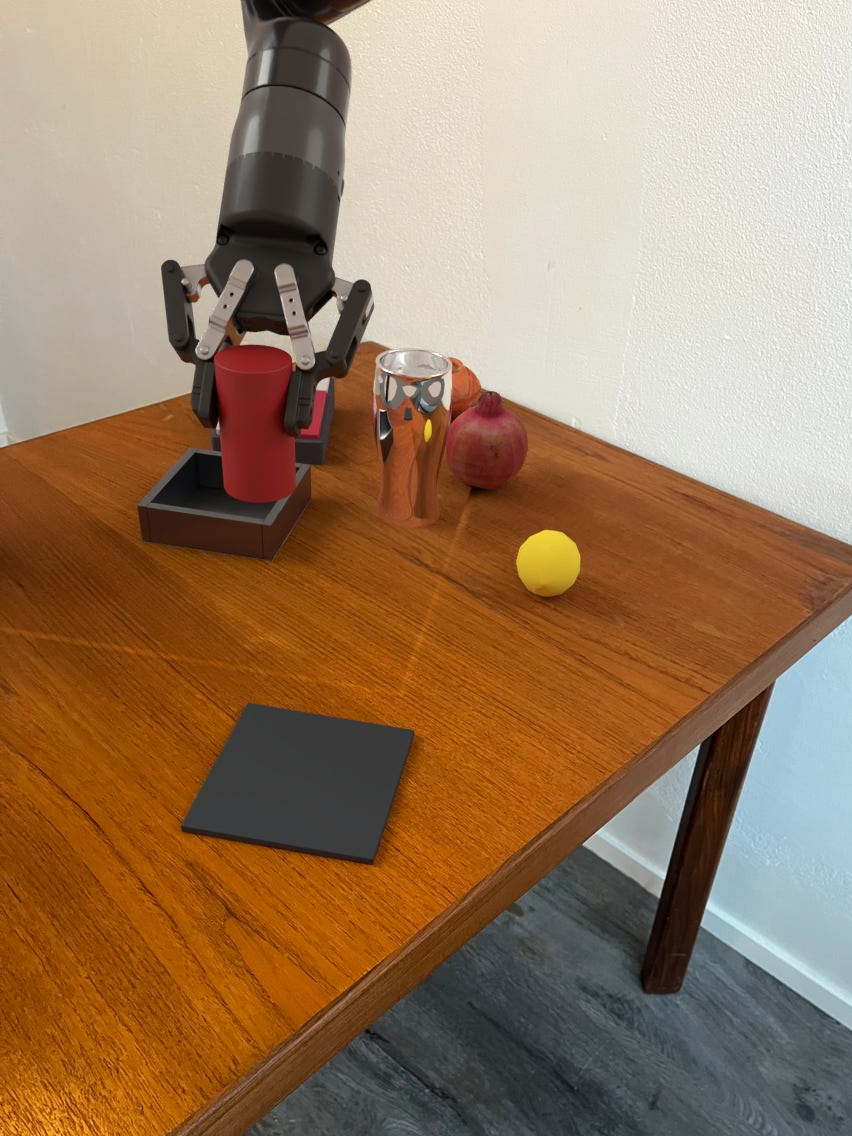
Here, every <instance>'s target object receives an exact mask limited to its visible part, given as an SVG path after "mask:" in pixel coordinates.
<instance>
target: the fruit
mask: <svg viewBox="0 0 852 1136" xmlns="http://www.w3.org/2000/svg"><path fill="white" fill-rule="evenodd" d="M528 452H529V438H528V434H527V430H526V428H525V426H524V423H523V422H522V420H521V418H520V417H519V416H518V415H517V414H515V412H513V411H511V410H510V409H507V408H505V407H504V405H503V400H502V396H501V394H500V393H499V392H497V391H494V390H489V391H484V392H482V394H481V395H479V398H478V399H477V402H476V405H475V406H472V408H470V409H468V410H466V411H465V412H463V413H460V414H459V415H458V416H457V417H456V418H455V419H454V420H453V422H451V423H450V428H449V433H448V439H447V443H446V447H445V454H446V455H445V456H446V462H447V464H448V467H449V470H450V472H451V473H452V474H453V475H454V476H455V477H456V478H457V479H458V480H460V481H461V482H462V483H464V484H466V485H469V486H472V487H474V488H479V489H488V490H489V489H497V488H501V487H502V486H503V485H505V484H506V483H508V482H509V481H510V480H512V479H514V478H515V477H517V475H518V474H519V472H521V470H522V468H523V466H524V464H525V462H526V458H527V455H528Z"/></svg>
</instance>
